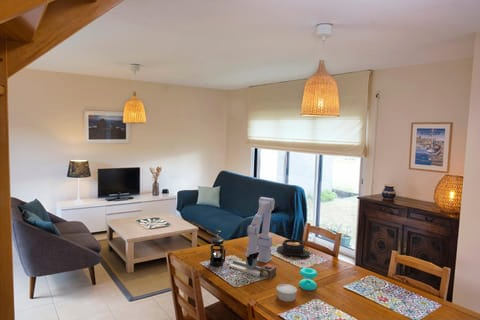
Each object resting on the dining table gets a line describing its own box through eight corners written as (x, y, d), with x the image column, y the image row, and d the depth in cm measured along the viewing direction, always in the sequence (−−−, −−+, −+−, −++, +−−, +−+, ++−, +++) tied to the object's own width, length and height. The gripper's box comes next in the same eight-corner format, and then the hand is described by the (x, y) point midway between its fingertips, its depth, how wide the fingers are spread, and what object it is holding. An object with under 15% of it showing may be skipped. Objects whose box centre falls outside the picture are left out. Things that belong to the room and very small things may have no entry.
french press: (205, 264, 218) (206, 230, 216) (214, 260, 226) (215, 227, 224) (219, 269, 211) (221, 234, 209) (228, 264, 219) (229, 230, 217)
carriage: (248, 265, 215) (249, 257, 214) (256, 267, 211) (257, 259, 211) (245, 267, 211) (246, 259, 211) (253, 269, 208) (254, 261, 208)
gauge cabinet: (266, 271, 210) (266, 264, 210) (275, 274, 206) (276, 266, 206) (259, 276, 203) (260, 268, 203) (269, 279, 200) (270, 271, 199)
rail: (237, 262, 223) (237, 258, 223) (266, 270, 211) (266, 266, 211) (229, 267, 215) (229, 262, 214) (258, 276, 203) (258, 271, 203)
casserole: (272, 252, 245) (272, 241, 244) (283, 246, 260) (284, 235, 259) (303, 261, 231) (304, 249, 230) (313, 253, 246) (314, 242, 245)
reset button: (266, 271, 208) (267, 264, 207) (272, 273, 206) (272, 265, 205) (263, 273, 204) (264, 266, 204) (269, 275, 202) (269, 267, 202)
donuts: (312, 266, 196) (320, 273, 187) (311, 282, 197) (319, 290, 188) (297, 267, 194) (304, 274, 184) (296, 284, 195) (303, 292, 185)
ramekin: (282, 290, 186) (283, 281, 185) (300, 297, 179) (300, 288, 178) (271, 297, 177) (272, 288, 177) (289, 305, 170) (290, 295, 170)
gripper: (253, 239, 218) (252, 259, 219) (241, 245, 206) (240, 266, 207) (262, 241, 214) (261, 261, 215) (251, 247, 202) (250, 269, 203)
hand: (251, 264), depth 211 cm, fingers closed on carriage, 4 cm apart
